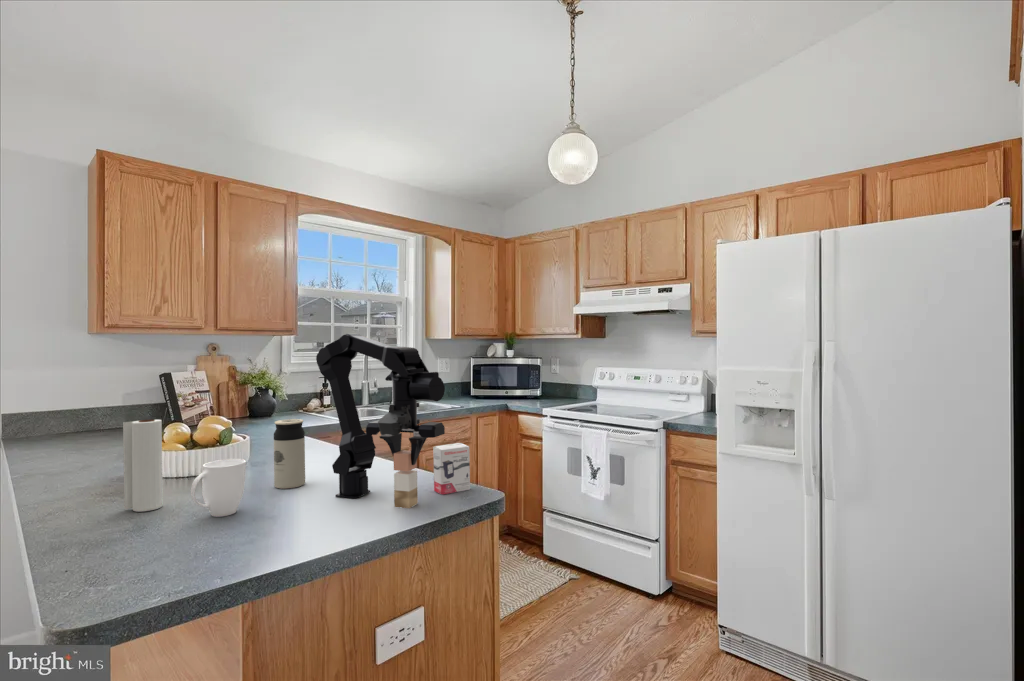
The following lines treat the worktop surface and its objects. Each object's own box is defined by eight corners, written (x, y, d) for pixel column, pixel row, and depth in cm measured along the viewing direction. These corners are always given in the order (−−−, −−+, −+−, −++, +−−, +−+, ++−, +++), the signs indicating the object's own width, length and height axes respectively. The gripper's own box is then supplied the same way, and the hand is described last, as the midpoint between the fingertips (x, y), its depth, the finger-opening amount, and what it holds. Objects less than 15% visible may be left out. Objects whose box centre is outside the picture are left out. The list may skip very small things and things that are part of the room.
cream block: (394, 490, 128) (394, 473, 128) (403, 485, 131) (402, 469, 131) (409, 491, 126) (408, 474, 126) (417, 487, 130) (417, 470, 130)
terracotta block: (393, 470, 128) (393, 453, 128) (402, 466, 131) (402, 450, 131) (408, 471, 126) (408, 454, 126) (416, 467, 130) (416, 451, 130)
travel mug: (297, 480, 154) (296, 418, 155) (310, 485, 149) (309, 420, 149) (269, 485, 149) (268, 421, 149) (281, 491, 143) (280, 423, 143)
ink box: (441, 495, 137) (440, 449, 137) (433, 490, 141) (432, 446, 141) (470, 489, 142) (470, 445, 142) (462, 485, 146) (461, 442, 146)
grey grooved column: (168, 506, 131) (167, 419, 131) (142, 513, 125) (141, 422, 125) (150, 503, 134) (149, 417, 134) (124, 510, 128) (122, 421, 129)
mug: (230, 505, 131) (230, 456, 131) (253, 511, 126) (253, 460, 126) (181, 519, 120) (181, 466, 120) (204, 526, 116) (205, 471, 116)
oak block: (394, 507, 128) (394, 490, 128) (403, 502, 131) (403, 485, 131) (409, 508, 126) (409, 491, 126) (417, 503, 130) (417, 487, 130)
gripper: (351, 402, 124) (352, 469, 124) (422, 404, 118) (423, 474, 118) (378, 397, 135) (379, 459, 135) (445, 399, 129) (446, 463, 129)
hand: (405, 464), depth 129 cm, fingers closed on terracotta block, 4 cm apart
